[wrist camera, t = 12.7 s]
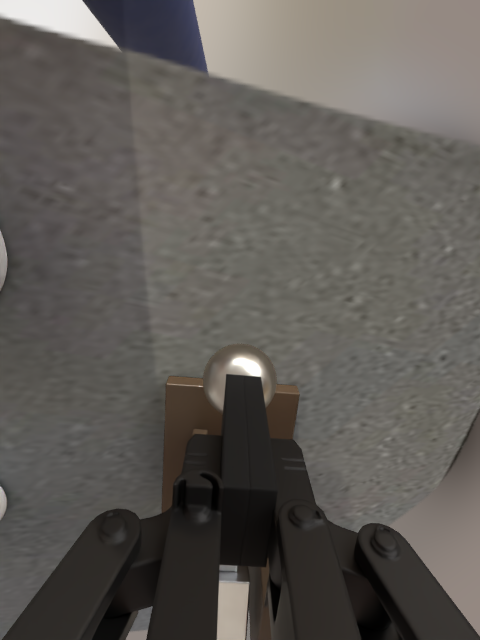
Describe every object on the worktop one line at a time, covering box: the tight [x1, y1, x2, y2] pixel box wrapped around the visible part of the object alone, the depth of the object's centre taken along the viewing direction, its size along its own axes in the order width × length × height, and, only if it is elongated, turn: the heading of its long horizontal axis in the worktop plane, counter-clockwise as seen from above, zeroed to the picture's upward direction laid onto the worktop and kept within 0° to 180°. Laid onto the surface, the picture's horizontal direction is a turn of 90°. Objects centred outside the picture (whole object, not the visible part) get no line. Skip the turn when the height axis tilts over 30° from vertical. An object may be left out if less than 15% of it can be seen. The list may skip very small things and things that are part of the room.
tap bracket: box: [162, 376, 300, 640], centre depth 22 cm, size 11×9×13 cm
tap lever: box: [203, 344, 277, 640], centre depth 18 cm, size 13×4×4 cm, turn 175°
